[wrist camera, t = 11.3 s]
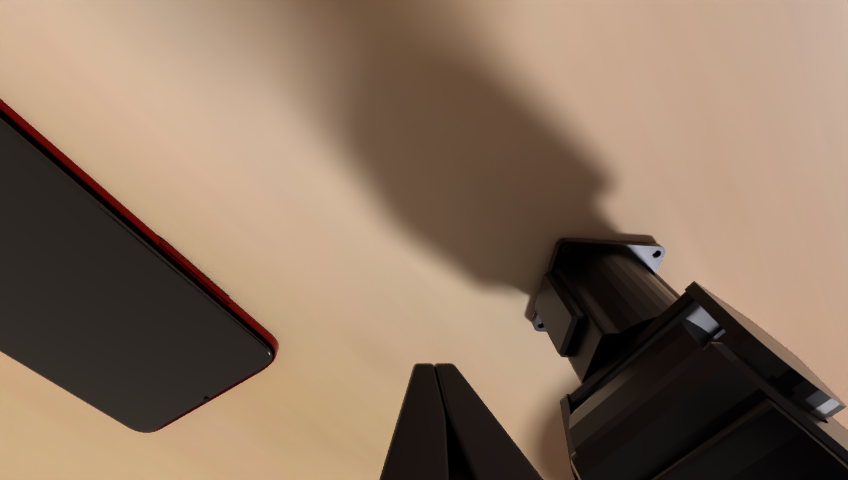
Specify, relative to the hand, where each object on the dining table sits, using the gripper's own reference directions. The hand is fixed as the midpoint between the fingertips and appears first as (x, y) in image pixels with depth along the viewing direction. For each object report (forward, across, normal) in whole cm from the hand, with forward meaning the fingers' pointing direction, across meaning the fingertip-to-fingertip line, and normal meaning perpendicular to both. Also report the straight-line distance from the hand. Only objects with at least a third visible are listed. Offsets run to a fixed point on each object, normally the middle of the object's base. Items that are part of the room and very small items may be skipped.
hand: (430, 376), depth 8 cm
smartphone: (+14, +18, +6) cm, 24 cm away
